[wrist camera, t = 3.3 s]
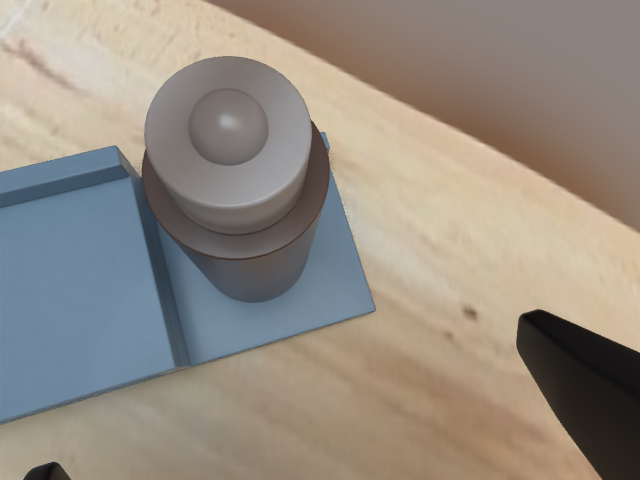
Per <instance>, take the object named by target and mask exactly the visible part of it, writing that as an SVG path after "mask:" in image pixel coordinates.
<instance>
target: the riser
mask: <svg viewBox="0 0 640 480" xmlns="http://www.w3.org/2000/svg"><path fill="white" fill-rule="evenodd" d="M320 134H321V136H322V138H323V140H324V143H325V146H326V149H327V152H329V148H330V146H329V143H328V140H327V137H326V134H325V132H321V133H320ZM374 311H376V308H375V305H374V302H373V299H372V296H371V293H370V289H369V286H368V283H367V280H366V277H365V274H364V271H363V268H362V265H361V261H360V258H359V255H358V252H357V249H356V246H355V243H354V240H353V236H352V233H351V230H350V227H349V224H348V221H347V218H346V215H345V212H344V208H343V205H342V202H341V199H340V196H339V193H338V190H337V187H336V183H335V180H334V177H333V174H332V171H331V168H330V180H329V188H328V192H327V196H326V200H325V203H324V206H323V209H322V213H321V216H320V219H319V222H318V226H317V229H316V232H315V235H314V239H313V242H312V245H311V249H310V252H309V255H308V258H307V262H306V265H305V267H304V270H303V272H302V274H301V276H300V278H299V279H298V280H297V282H296V283H295V284H294V285H293V286H292V287H291V288H290V289H289V290H288V291H287V292H285V293H284V294H282V295H280V296H279V297H277V298H274V299H272V300H268V301H265V302H258V303H249V302H242V301H238V300H235V299H232V298H230V297H228V296H226V295H224V294H223V293H221V292H220V291H219V290H218V289H217V288H216V287H215V286H213V284H212V283H211V282H210V281H209V280H208V279H207V278H206V277H205V275H204V274H203V273H202V272H201V271H200V270H199V269H198V268H197V266H196V265H195V264H194V263H193V262H192V261H191V260H190V259H189V257H188V256H187V255H186V254H185V253H184V252H183V251H182V250H181V248H180V247H179V246H178V245H177V244H176V243H175V242H174V241H173V239H172V238H171V237H170V236H169V235H168V234H167V233H166V232H165V230H164V229H163V228H162V227H161V225H160V224H159V223H158V222H157V220H156V219H155V217H154V215H153V213H152V212H151V210H150V208H149V205H148V203H147V200H146V198H145V193H144V189H143V182H142V177H140V176H139V174H138V173H137V172H136V171H135V169H134V168H133V167H132V165H131V164H130V163H129V161H128V160H127V159H126V158H125V156H124V155H123V154H122V152H121V151H120V150H119V148H118V147H117V146H110V147H106V148H102V149H97V150H93V151H89V152H85V153H80V154H76V155H72V156H67V157H63V158H59V159H55V160H50V161H46V162H42V163H38V164H33V165H29V166H25V167H20V168H16V169H12V170H8V171H3V172H0V425H2V424H5V423H8V422H12V421H15V420H18V419H22V418H25V417H28V416H32V415H35V414H38V413H42V412H45V411H48V410H51V409H55V408H58V407H61V406H65V405H68V404H71V403H75V402H78V401H81V400H85V399H88V398H91V397H94V396H98V395H101V394H104V393H108V392H111V391H114V390H118V389H121V388H124V387H128V386H131V385H134V384H137V383H141V382H144V381H147V380H151V379H154V378H157V377H161V376H164V375H167V374H171V373H174V372H177V371H180V370H184V369H187V368H190V367H194V366H197V365H200V364H204V363H207V362H210V361H213V360H217V359H220V358H223V357H227V356H230V355H233V354H237V353H240V352H243V351H247V350H250V349H253V348H256V347H260V346H263V345H266V344H270V343H273V342H276V341H280V340H283V339H286V338H290V337H293V336H296V335H299V334H303V333H306V332H309V331H313V330H316V329H319V328H323V327H326V326H329V325H333V324H336V323H339V322H342V321H346V320H349V319H352V318H356V317H359V316H362V315H366V314H369V313H372V312H374Z"/></svg>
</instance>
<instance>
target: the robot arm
mask: <svg viewBox="0 0 640 480" xmlns="http://www.w3.org/2000/svg"><path fill="white" fill-rule="evenodd" d="M516 345H517V350H518V352H519V354H520V356H521V358H522V360H523V361H524V363H525V365H526V366H527V368H528V370H529V371H530V373H531V375H532V377H533V378H534V380H535V382H536V383H537V385H538V387H539V388H540V390H541V392H542V393H543V395H544V397H545V399H546V400H547V402H548V404H549V405H550V407H551V409H552V410H553V412H554V414H555V415H556V417H557V418H558V420H559V421H560V423H561V424H562V426H563V427H564V428H565V430H566V431H567V433H568V434H569V435H570V437H571V438H572V439H573V441H574V442H575V443H576V445H577V446H578V447H579V449H580V450H581V451H582V453H583V454H584V456H585V457H586V458H587V460H588V461H589V462H590V464H591V465H592V466H593V468H594V469H595V470H596V472H597V473H598V474H599V476H600V477H601V479H602V480H640V353H639V352H637V351H635V350H633V349H630V348H628V347H626V346H623V345H621V344H619V343H617V342H614V341H612V340H610V339H608V338H605V337H603V336H601V335H599V334H596V333H594V332H592V331H589V330H587V329H585V328H583V327H580V326H578V325H576V324H574V323H571V322H569V321H567V320H565V319H562V318H560V317H558V316H555V315H553V314H551V313H549V312H546V311H544V310H540V309H537V310H533V311H530V312H527V313H523V314H522V315H521V316H520V317H519V320H518V330H517V340H516ZM23 480H71V479H70V477H69V476H68V475H67V473H66V472H65V471H64V469H63V468H62V467H61V465H60V464H59V463H56V462H51V463H48V464H44V465H41V466H38V467H35V468H33V469H31V470H30V471H29V472H28V473H27V475H26V476H25V477H24V479H23Z"/></svg>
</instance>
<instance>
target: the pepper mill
mask: <svg viewBox="0 0 640 480" xmlns="http://www.w3.org/2000/svg"><path fill="white" fill-rule="evenodd" d="M144 137H145V146H146V149H145V153H144V158H143V163H142V182H143V189H144V193H145V198H146V200H147V203H148V205H149V208H150V210H151V212H152V213H153V215H154V217H155V219H156V220H157V222H158V223H159V224H160V225H161V227H162V228H163V229H164V230H165V232H166V233H167V234H168V235H169V236H170V237H171V238H172V239H173V241H174V242H175V243H176V244H177V245H178V246H179V247H180V248H181V250H182V251H183V252H184V253H185V254H186V255H187V256H188V257H189V259H190V260H191V261H192V262H193V263H194V264H195V265H196V266H197V268H198V269H199V270H200V271H201V272H202V273H203V274H204V275H205V277H206V278H207V279H208V280H209V281H210V282H211V283H212V284H213V286H215V287H216V288H217V289H218V290H219V291H220V292H221V293H223V294H224V295H226V296H228V297H230V298H232V299H235V300H238V301H242V302H249V303H258V302H265V301H268V300H272V299H274V298H277V297H279V296H280V295H282V294H284V293H285V292H287V291H288V290H289V289H290V288H291V287H292V286H293V285H294V284H295V283H296V282H297V280H298V279H299V278H300V276H301V274H302V272H303V270H304V267H305V265H306V262H307V258H308V255H309V252H310V249H311V245H312V242H313V239H314V235H315V232H316V229H317V226H318V222H319V219H320V216H321V213H322V209H323V206H324V203H325V200H326V196H327V192H328V188H329V180H330V163H329V157H328V152H327V149H326V146H325V143H324V140H323V138H322V136H321V134H320V132H319V130H318V129H317V127H316V126H315V124H314V123H313V121H312V120H311V119H310V115H309V112H308V109H307V106H306V104H305V102H304V100H303V98H302V96H301V95H300V93H299V92H298V90H297V89H296V88H295V87H294V86H293V84H292V83H291V82H290V81H289V80H288V79H287V78H285V77H284V76H283V75H282V74H281V73H279V72H278V71H276V70H275V69H273V68H271V67H269V66H268V65H266V64H263V63H261V62H258V61H255V60H252V59H248V58H242V57H233V56H223V57H213V58H209V59H204V60H201V61H198V62H195V63H193V64H191V65H189V66H187V67H185V68H183V69H181V70H180V71H178V72H177V73H175V74H174V75H173V76H172V77H171V78H169V79H168V80H167V81H166V82H165V83H164V85H163V86H162V87H161V88H160V89H159V91H158V92H157V94H156V95H155V97H154V99H153V101H152V103H151V105H150V108H149V110H148V113H147V117H146V122H145V132H144Z"/></svg>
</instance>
